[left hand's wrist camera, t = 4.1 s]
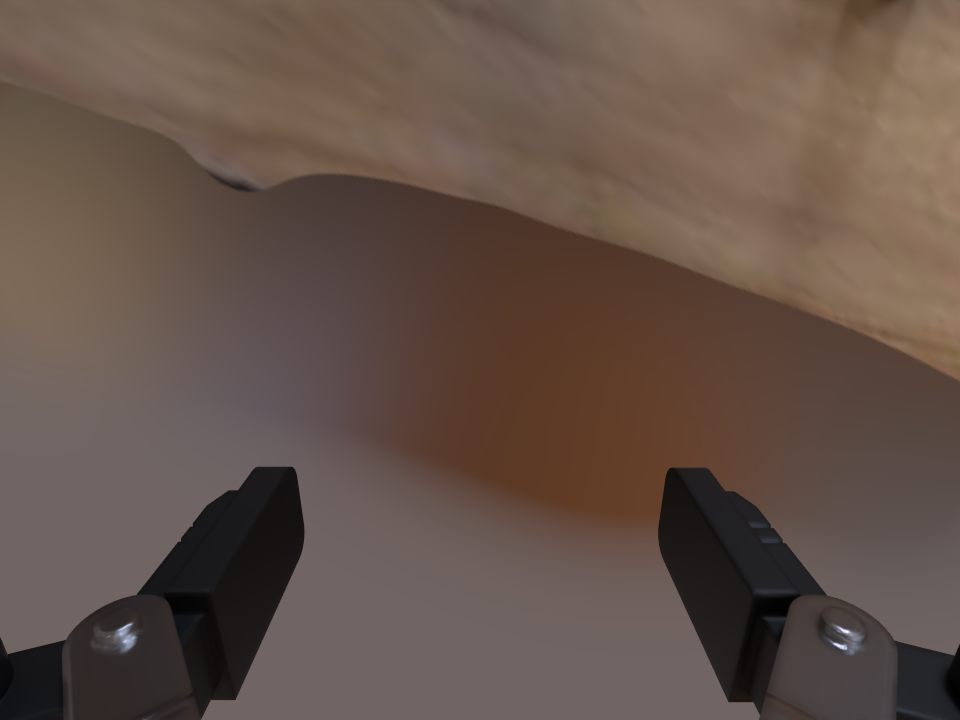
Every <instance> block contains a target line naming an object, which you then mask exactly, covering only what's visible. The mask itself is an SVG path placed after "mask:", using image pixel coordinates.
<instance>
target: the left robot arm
mask: <svg viewBox="0 0 960 720" xmlns="http://www.w3.org/2000/svg"><path fill="white" fill-rule="evenodd" d="M658 539H659V546H660V551H661V555H662V558H663V560H664V562H665V564H666V567H667V569H668V571H669V573H670V575H671V577H672V580H673V582H674V584H675V586H676V588H677V590H678V593H679V595H680V597H681V599H682V601H683V604H684V606H685V608H686V610H687V612H688V615H689V617H690V619H691V621H692V623H693V625H694V628H695V630H696V632H697V634H698V636H699V638H700V641H701V643H702V645H703V647H704V649H705V652H706V654H707V656H708V658H709V660H710V663H711V665H712V667H713V669H714V671H715V673H716V676H717V678H718V680H719V682H720V684H721V687H722V689H723V691H724V693H725V695H726V697H727V700H728V702H754V704H755V706H756V708H757V710H758V712H759V714H760V718H759V720H960V645H959V647H958V649H957V652H956V654H955V656H953V655H950V654H945V653H941V652H937V651H933V650H929V649H925V648H921V647H917V646H913V645H909V644H905V643H901V642H898V641H894V639H893V638H892V636H891V634H890V633H889V632H888V631H887V629H886V628H885V627H884V626H883V625H882V624H881V623H880V622H879V621H877V620H876V619H875V618H874V617H872V616H871V615H870V614H868V613H867V612H865V611H864V610H862V609H860V608H858V607H857V606H855V605H853V604H850V603H848V602H846V601H843V600H841V599H838V598H834V597H830V596H827V595H826V593H825V592H824V591H823V590H822V588H821V587H820V586H819V585H818V583H817V582H816V581H815V580H814V578H813V577H812V576H811V575H810V573H809V572H808V571H807V570H806V568H805V567H804V566H803V565H802V563H801V562H800V561H799V560H798V558H797V557H796V556H795V555H794V553H793V552H792V551H791V549H790V548H789V547H788V546H787V544H786V543H783V541H782V538H781V537H780V536H779V534H778V533H777V532H776V531H775V529H774V528H771V525H770V523H769V522H768V521H767V519H766V518H765V517H764V516H763V514H762V513H761V512H760V511H759V509H758V508H757V507H756V506H755V505H753V504H752V503H750V502H749V501H747V500H746V499H744V498H743V497H742V496H740V495H739V494H737V493H736V492H734V491H733V492H731V491H728V492H727V491H725V490H724V489H723V488H722V486H721V485H720V484H719V482H718V481H717V480H716V478H715V477H714V476H713V474H712V473H711V471H710V470H709V469H707V468H670V469H669V470H668V472H667V474H666V479H665V486H664V493H663V500H662V507H661V513H660V520H659V528H658ZM303 544H304V521H303V514H302V507H301V501H300V493H299V487H298V479H297V474H296V471H295V469H294V468H293V467H256V468H255V469H254V470H253V471H252V472H251V473H250V475H249V476H248V478H247V479H246V480H245V482H244V483H243V484H242V486H241V487H240V488H239V490H229V491H227V492H226V493H224V494H223V495H222V496H220V497H219V498H217V499H216V500H214V501H213V502H211V503H210V504H208V505H207V506H206V507H205V509H204V510H203V511H202V512H201V514H200V515H199V516H198V518H197V519H196V520H195V521H194V523H193V527H190V528H189V529H188V530H187V531H186V533H185V534H184V535H183V537H182V538H181V542H178V543H177V544H176V545H175V547H174V548H173V549H172V551H171V552H170V553H169V554H168V556H167V557H166V558H165V559H164V561H163V562H162V563H161V564H160V566H159V567H158V568H157V569H156V571H155V572H154V573H153V575H152V576H151V577H150V578H149V580H148V581H147V582H146V583H145V585H144V586H143V587H142V589H141V590H140V591H139V592H138V594H137V595H135V596H130V597H126V598H122V599H119V600H117V601H114V602H112V603H110V604H107V605H105V606H103V607H102V608H100V609H98V610H96V611H95V612H93V613H92V614H90V615H89V616H88V617H86V618H85V619H84V620H83V621H81V622H80V623H79V624H78V625H77V626H76V627H75V628H74V629H73V631H72V632H71V633H70V634H69V636H68V638H67V639H66V640H64V641H60V642H56V643H52V644H48V645H43V646H40V647H35V648H31V649H27V650H23V651H19V652H15V653H11V654H7V652H6V650H5V647H4V645H3V643H2V640H1V638H0V720H201V718H202V716H203V714H204V712H205V710H206V708H207V706H208V704H209V702H210V700H236V697H237V695H238V693H239V691H240V688H241V686H242V684H243V682H244V680H245V678H246V675H247V673H248V671H249V669H250V667H251V664H252V662H253V660H254V658H255V655H256V653H257V651H258V649H259V647H260V644H261V642H262V640H263V638H264V636H265V633H266V631H267V629H268V627H269V625H270V622H271V620H272V618H273V616H274V613H275V611H276V609H277V607H278V605H279V602H280V600H281V598H282V596H283V593H284V591H285V589H286V587H287V585H288V583H289V580H290V578H291V576H292V574H293V571H294V569H295V567H296V565H297V563H298V560H299V558H300V556H301V552H302V549H303Z"/></svg>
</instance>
